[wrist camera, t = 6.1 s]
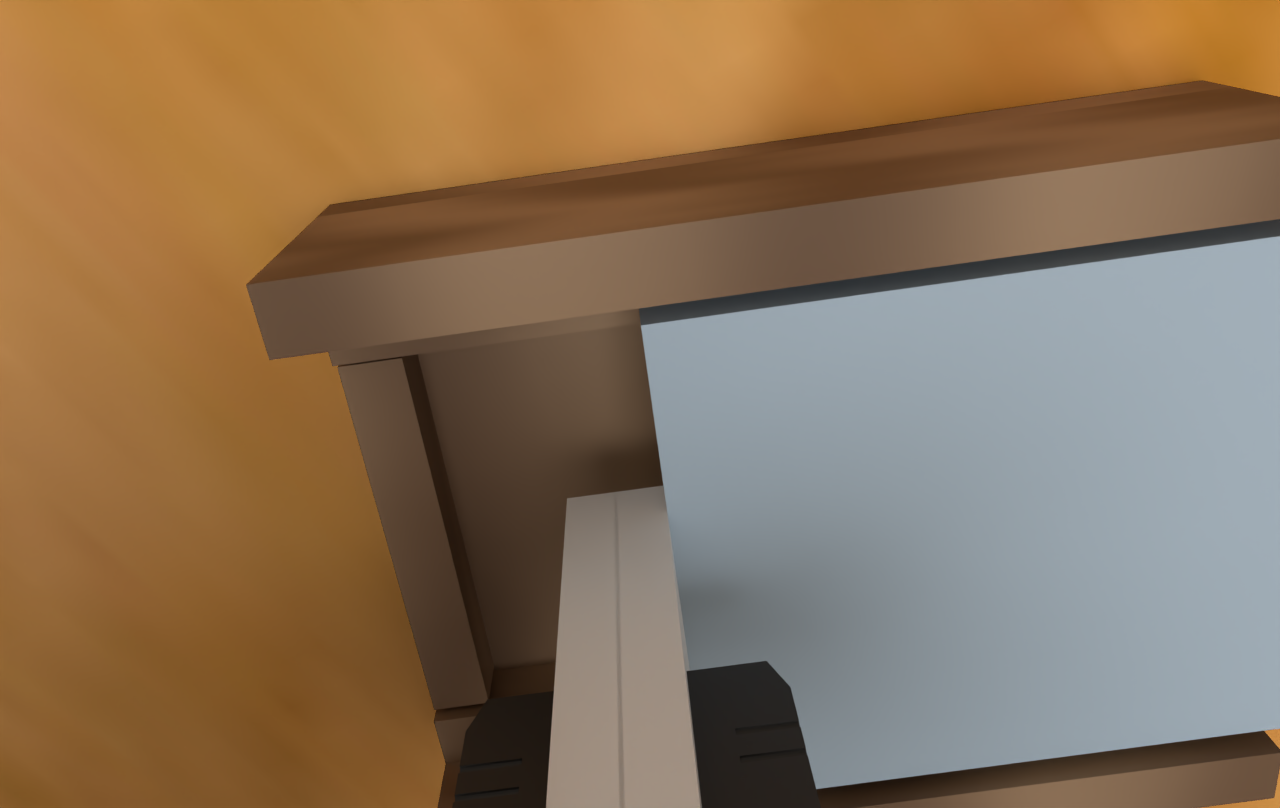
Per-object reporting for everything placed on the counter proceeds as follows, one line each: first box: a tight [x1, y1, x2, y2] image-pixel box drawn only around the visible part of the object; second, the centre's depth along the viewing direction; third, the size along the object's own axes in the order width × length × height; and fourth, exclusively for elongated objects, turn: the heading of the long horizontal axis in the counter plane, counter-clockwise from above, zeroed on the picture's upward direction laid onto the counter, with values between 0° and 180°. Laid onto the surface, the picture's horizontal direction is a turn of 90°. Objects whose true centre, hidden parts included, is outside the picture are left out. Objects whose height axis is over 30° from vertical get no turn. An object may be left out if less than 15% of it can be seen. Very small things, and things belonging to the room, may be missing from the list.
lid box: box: [246, 81, 1280, 808], centre depth 16 cm, size 14×11×4 cm
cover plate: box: [639, 219, 1280, 789], centre depth 15 cm, size 10×8×2 cm
